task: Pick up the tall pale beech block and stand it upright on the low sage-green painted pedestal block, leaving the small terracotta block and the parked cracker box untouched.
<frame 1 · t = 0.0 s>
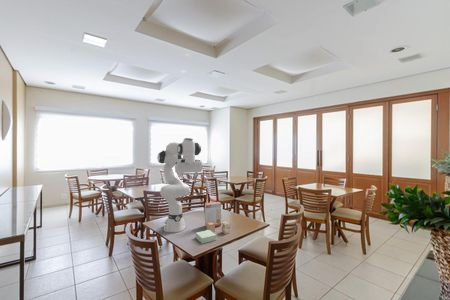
hand: (188, 178, 160), 48 cm above the table, fingers open, 8 cm apart
sage pedestal block: (205, 238, 168), on the table
beech block: (225, 232, 181), on the table
terracotta block: (210, 231, 182), on the table
cracker box: (212, 226, 196), on the table
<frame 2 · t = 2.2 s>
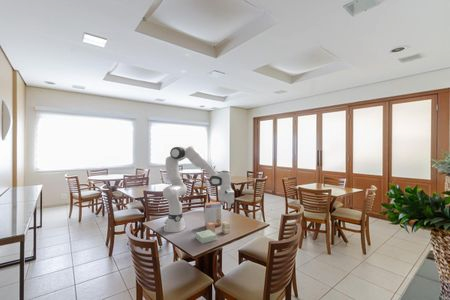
hand: (225, 206, 180), 22 cm above the table, fingers open, 8 cm apart
nothing on the table moved.
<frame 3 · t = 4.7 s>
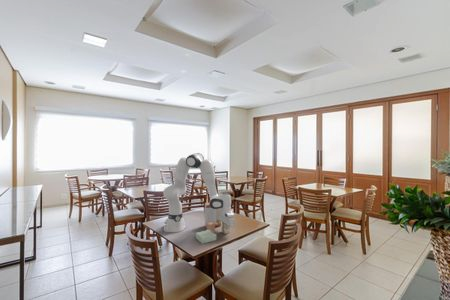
hand: (225, 228, 181), 3 cm above the table, fingers closed on beech block, 5 cm apart
beech block: (225, 232, 181), on the table, touching gripper
everything else where it was.
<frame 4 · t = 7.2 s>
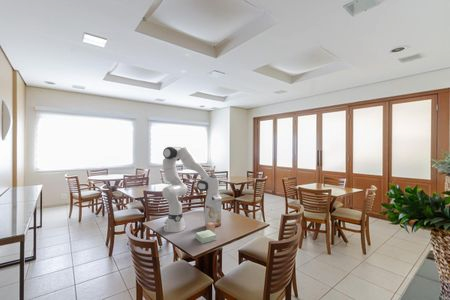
hand: (212, 213, 172), 18 cm above the table, fingers closed on beech block, 5 cm apart
beech block: (212, 217, 172), point 15 cm above the table, touching gripper
everything else where it was.
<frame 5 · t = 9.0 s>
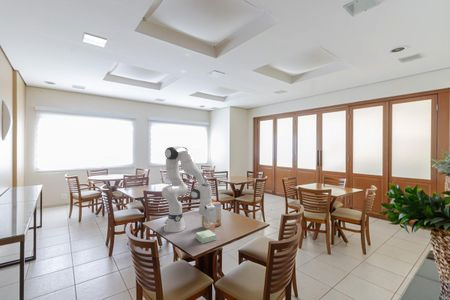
hand: (206, 222, 168), 13 cm above the table, fingers closed on beech block, 5 cm apart
beech block: (206, 226, 168), point 10 cm above the table, touching gripper
everything else where it was.
when the fingers open (8 cm above the table, at t = 10.2 s): beech block stays where it is, resting on sage pedestal block.
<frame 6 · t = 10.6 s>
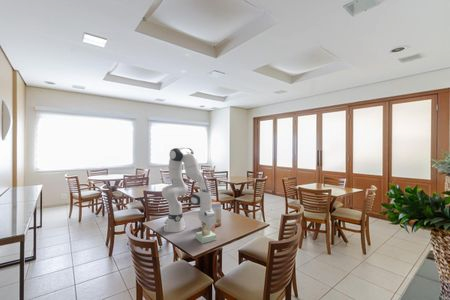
hand: (205, 228, 168), 8 cm above the table, fingers open, 8 cm apart
beech block: (205, 233, 168), point 4 cm above the table, touching sage pedestal block
everything else where it was.
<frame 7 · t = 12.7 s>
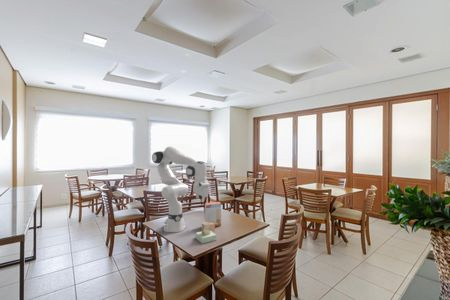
hand: (200, 200, 167), 30 cm above the table, fingers open, 8 cm apart
nothing on the table moved.
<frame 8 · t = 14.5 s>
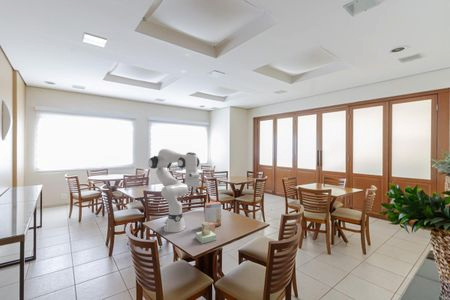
hand: (191, 191, 166), 37 cm above the table, fingers open, 8 cm apart
nothing on the table moved.
at the end: beech block inside the target area on the sage pedestal block (0.1 cm from its centre), point 4.0 cm above the sage pedestal block's base; beech block tilted 0°; the gripper is holding nothing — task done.
